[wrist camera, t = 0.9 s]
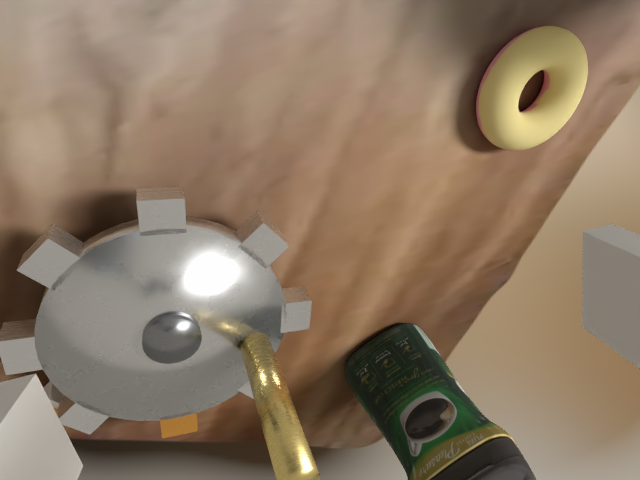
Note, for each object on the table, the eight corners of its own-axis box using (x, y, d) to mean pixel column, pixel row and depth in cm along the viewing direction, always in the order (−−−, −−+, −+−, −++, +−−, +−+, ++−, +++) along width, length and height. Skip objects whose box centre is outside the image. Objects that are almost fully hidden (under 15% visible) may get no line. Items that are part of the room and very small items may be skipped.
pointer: (40, 389, 37) (34, 414, 35) (53, 377, 37) (48, 401, 35) (80, 406, 39) (77, 430, 37) (93, 393, 39) (90, 417, 37)
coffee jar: (361, 398, 52) (456, 575, 36) (332, 360, 47) (426, 543, 32) (433, 351, 52) (558, 506, 37) (411, 308, 47) (542, 464, 32)
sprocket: (-17, 411, 33) (-99, 641, 22) (42, 147, 26) (-30, 276, 15) (249, 422, 43) (290, 585, 31) (341, 231, 36) (437, 348, 25)
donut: (441, 88, 39) (498, 161, 43) (462, 100, 35) (522, 179, 39) (540, -4, 37) (591, 83, 41) (575, -2, 33) (628, 94, 37)
